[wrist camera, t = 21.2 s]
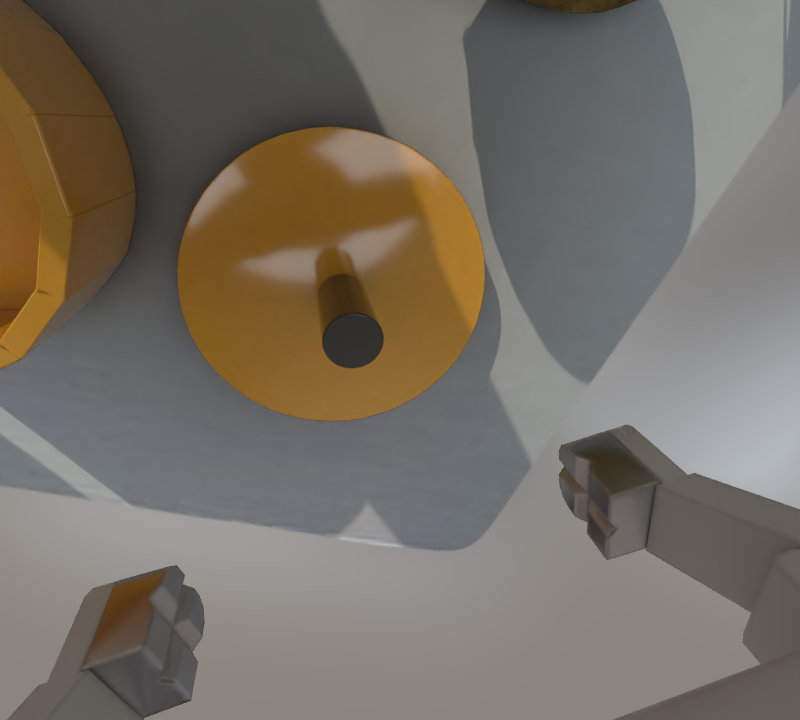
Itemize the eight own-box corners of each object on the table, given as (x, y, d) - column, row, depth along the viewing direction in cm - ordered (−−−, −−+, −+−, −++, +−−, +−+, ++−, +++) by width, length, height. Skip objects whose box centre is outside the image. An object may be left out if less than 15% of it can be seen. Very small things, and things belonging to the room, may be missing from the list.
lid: (117, 305, 20) (54, 370, 15) (321, 39, 17) (331, 2, 12) (352, 448, 27) (365, 528, 22) (529, 275, 24) (595, 318, 19)
